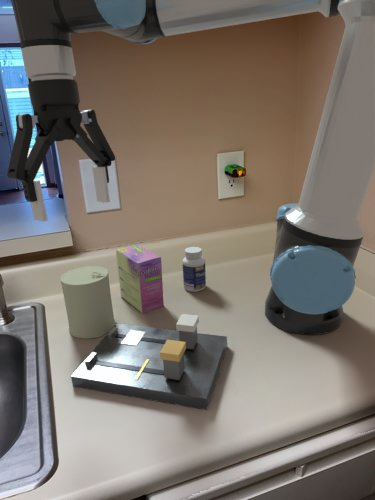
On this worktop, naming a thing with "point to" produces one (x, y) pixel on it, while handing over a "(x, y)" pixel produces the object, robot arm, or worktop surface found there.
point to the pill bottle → (194, 270)
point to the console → (151, 366)
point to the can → (88, 301)
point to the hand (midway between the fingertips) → (74, 210)
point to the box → (140, 277)
